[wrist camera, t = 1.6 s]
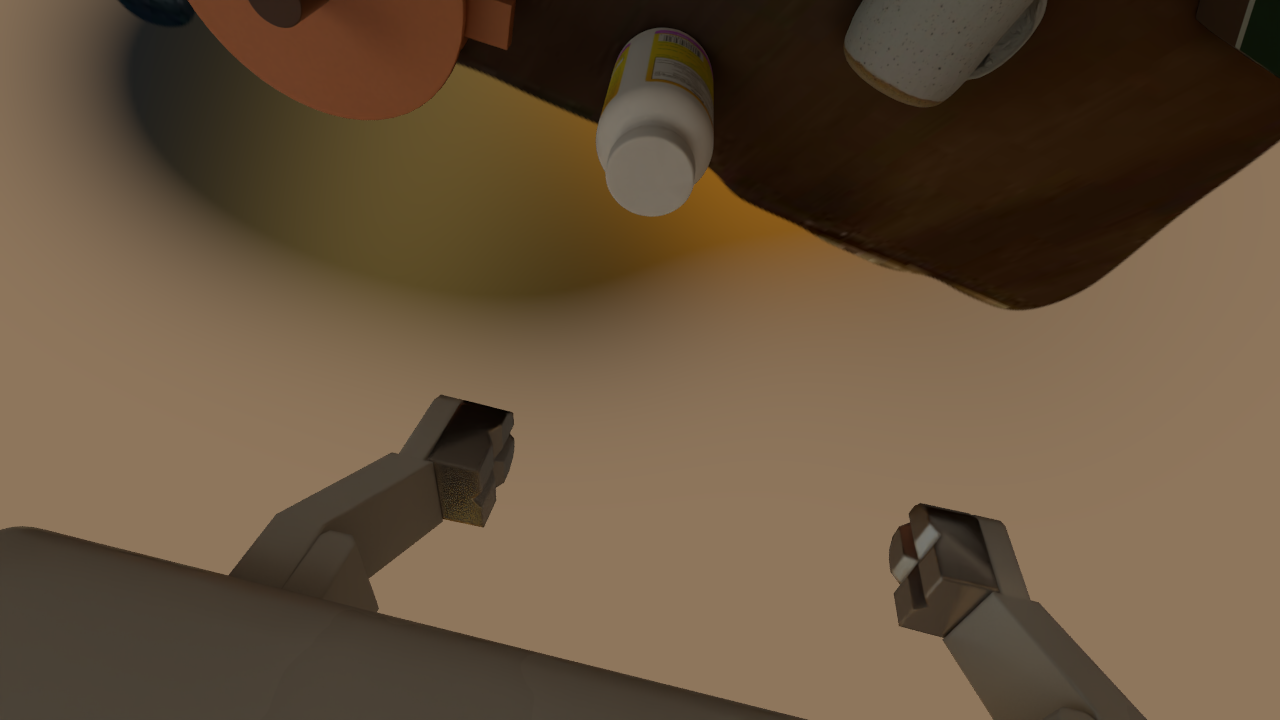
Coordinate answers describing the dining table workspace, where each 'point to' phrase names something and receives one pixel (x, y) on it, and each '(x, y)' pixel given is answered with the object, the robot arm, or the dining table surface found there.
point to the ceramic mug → (935, 43)
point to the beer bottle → (1246, 28)
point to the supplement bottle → (657, 122)
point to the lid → (344, 49)
